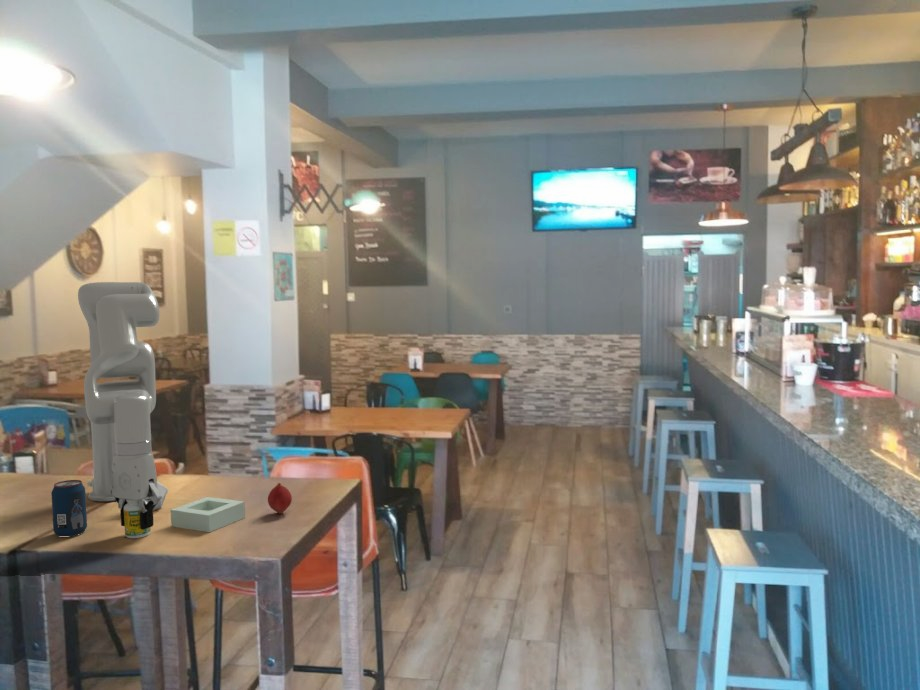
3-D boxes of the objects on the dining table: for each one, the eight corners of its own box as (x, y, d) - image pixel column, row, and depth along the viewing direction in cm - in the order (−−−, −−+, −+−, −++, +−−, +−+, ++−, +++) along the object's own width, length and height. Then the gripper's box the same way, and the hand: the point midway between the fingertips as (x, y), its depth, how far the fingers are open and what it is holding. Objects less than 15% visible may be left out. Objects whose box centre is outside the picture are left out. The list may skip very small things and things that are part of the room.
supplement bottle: (148, 529, 171) (146, 489, 171) (152, 536, 167) (150, 494, 166) (123, 534, 168) (121, 493, 168) (127, 540, 164) (125, 498, 163)
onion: (263, 514, 183) (262, 482, 182) (283, 508, 187) (282, 478, 186) (276, 518, 179) (275, 486, 178) (296, 513, 183) (295, 481, 182)
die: (168, 514, 186) (176, 479, 191) (138, 504, 180) (147, 468, 185) (150, 521, 190) (158, 486, 195) (119, 512, 184) (128, 476, 190)
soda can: (64, 528, 173) (61, 479, 173) (93, 528, 173) (90, 479, 172) (47, 538, 166) (44, 487, 166) (77, 538, 166) (74, 486, 165)
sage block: (171, 526, 174) (170, 509, 174) (208, 512, 185) (207, 496, 185) (209, 532, 169) (209, 515, 169) (245, 517, 180) (244, 501, 180)
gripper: (93, 448, 166) (97, 526, 168) (147, 455, 159) (151, 536, 161) (120, 442, 173) (124, 517, 175) (174, 448, 166) (177, 525, 167)
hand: (137, 525), depth 168 cm, fingers closed on supplement bottle, 5 cm apart
